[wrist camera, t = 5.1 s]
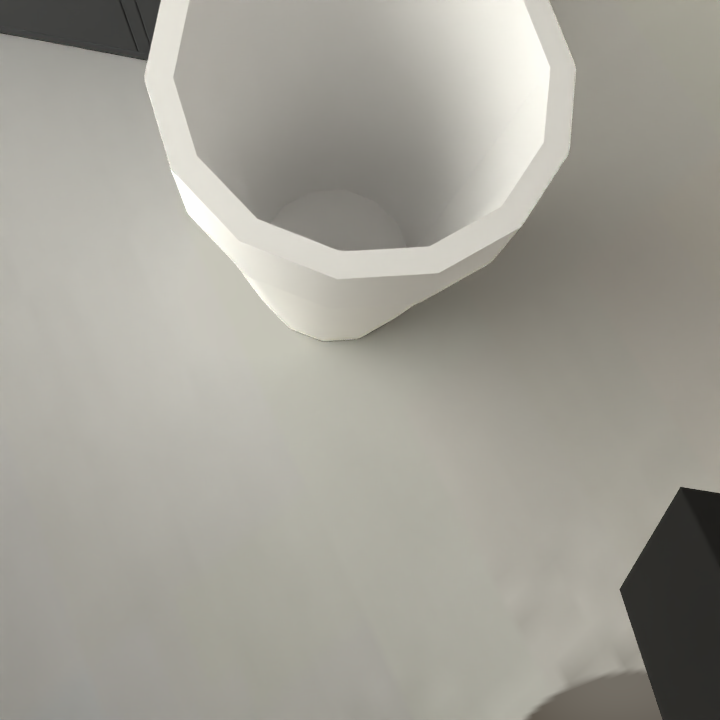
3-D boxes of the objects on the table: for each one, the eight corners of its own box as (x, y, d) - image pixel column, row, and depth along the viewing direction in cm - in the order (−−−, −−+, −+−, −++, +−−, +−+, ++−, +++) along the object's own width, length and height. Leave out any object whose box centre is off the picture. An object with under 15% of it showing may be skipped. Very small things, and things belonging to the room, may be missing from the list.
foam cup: (189, 188, 28) (99, -70, 15) (404, 133, 29) (489, -147, 16) (256, 411, 26) (220, 336, 14) (479, 342, 28) (636, 215, 15)
